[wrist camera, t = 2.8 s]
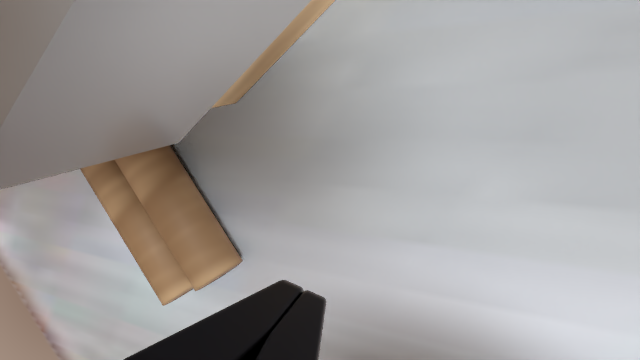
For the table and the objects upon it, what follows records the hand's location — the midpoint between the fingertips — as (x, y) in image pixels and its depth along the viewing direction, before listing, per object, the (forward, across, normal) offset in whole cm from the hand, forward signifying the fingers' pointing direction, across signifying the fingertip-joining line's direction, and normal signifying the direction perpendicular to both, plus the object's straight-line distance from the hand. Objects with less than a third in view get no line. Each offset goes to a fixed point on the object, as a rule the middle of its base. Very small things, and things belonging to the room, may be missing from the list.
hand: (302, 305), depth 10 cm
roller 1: (+12, +12, +11) cm, 20 cm away
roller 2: (+12, +10, +9) cm, 18 cm away
